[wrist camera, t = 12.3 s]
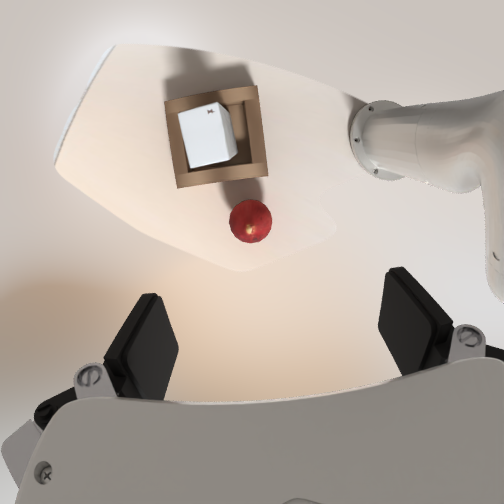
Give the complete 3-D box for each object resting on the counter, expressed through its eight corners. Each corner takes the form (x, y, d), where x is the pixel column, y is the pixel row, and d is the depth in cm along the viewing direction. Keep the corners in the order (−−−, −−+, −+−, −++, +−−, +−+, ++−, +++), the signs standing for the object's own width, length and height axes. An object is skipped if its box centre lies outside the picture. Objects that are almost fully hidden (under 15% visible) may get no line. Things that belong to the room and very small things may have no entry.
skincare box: (200, 120, 34) (176, 111, 23) (230, 112, 33) (219, 100, 22) (209, 160, 36) (189, 169, 25) (239, 154, 36) (231, 159, 25)
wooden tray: (257, 91, 33) (257, 85, 29) (266, 172, 38) (268, 176, 33) (174, 105, 34) (164, 101, 30) (185, 183, 38) (177, 188, 34)
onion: (274, 228, 41) (278, 248, 34) (237, 236, 42) (233, 258, 34) (265, 191, 39) (268, 203, 31) (227, 200, 39) (220, 214, 32)
